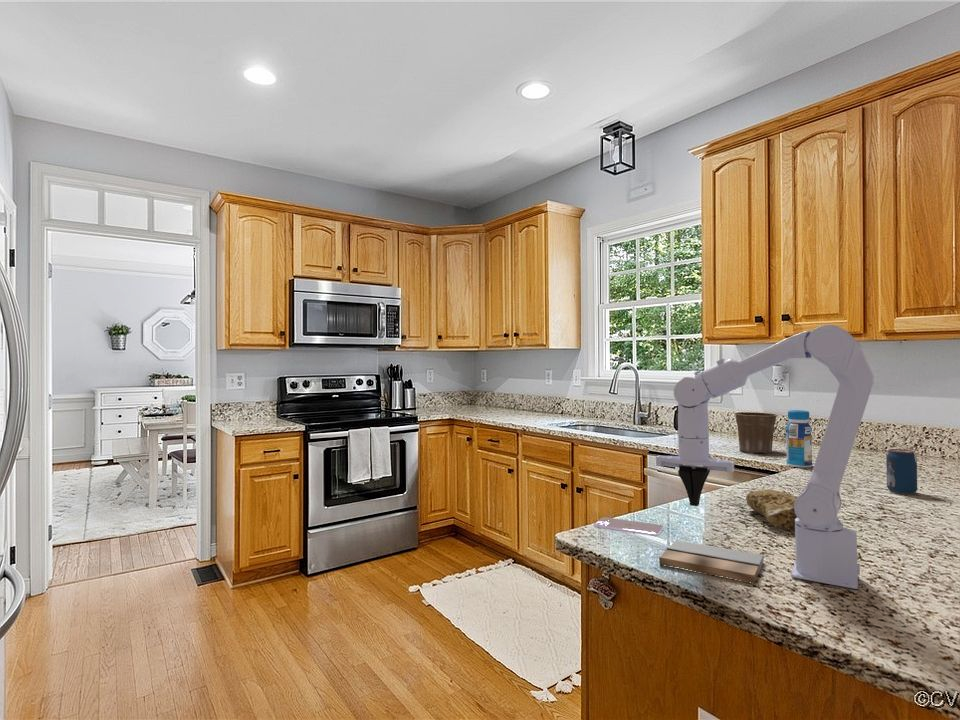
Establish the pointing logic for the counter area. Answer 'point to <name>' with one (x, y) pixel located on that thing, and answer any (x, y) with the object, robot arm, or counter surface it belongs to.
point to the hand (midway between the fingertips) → (694, 504)
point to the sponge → (774, 507)
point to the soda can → (901, 471)
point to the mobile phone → (629, 526)
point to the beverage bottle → (799, 439)
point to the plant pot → (755, 431)
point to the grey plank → (719, 552)
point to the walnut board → (710, 564)
